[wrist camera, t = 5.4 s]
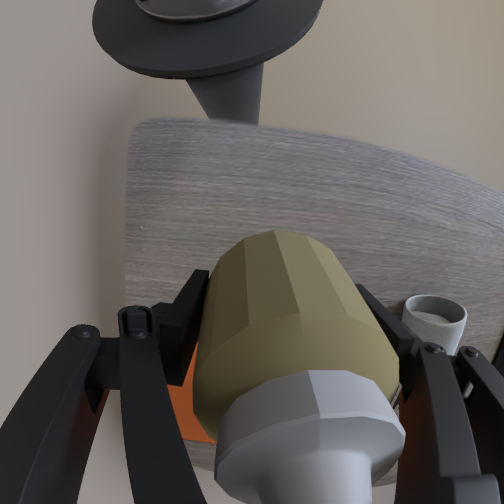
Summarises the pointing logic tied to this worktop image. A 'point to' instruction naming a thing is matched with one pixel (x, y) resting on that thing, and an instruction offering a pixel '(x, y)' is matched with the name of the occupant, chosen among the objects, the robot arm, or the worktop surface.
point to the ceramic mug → (435, 320)
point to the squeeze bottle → (294, 376)
